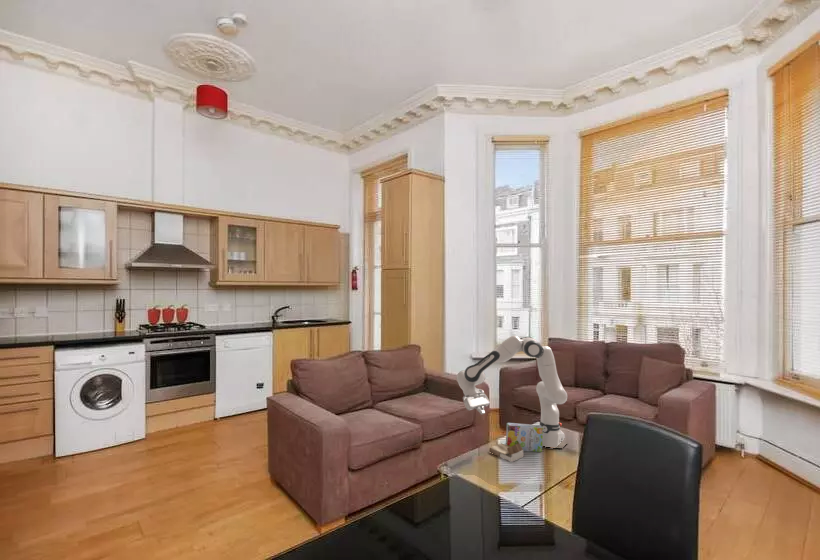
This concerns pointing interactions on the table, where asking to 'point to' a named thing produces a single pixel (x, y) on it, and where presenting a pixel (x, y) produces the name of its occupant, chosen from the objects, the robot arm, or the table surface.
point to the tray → (512, 456)
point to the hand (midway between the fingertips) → (483, 413)
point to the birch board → (499, 449)
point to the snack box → (525, 436)
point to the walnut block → (514, 449)
